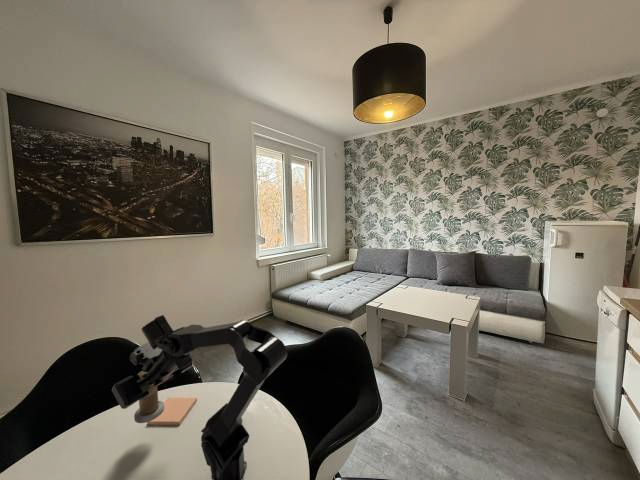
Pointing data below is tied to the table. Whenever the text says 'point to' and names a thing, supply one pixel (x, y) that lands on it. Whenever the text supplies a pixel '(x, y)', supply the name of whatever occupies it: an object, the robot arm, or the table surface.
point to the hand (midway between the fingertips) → (144, 389)
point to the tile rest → (174, 411)
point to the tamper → (148, 405)
